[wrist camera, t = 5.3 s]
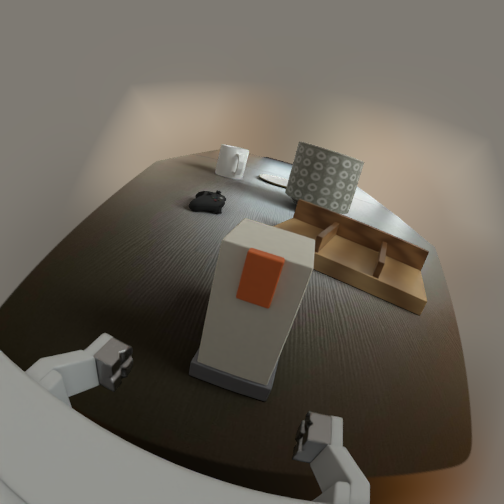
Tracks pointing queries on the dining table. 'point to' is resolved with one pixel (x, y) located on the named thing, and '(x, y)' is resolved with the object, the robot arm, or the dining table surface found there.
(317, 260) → the divided wooden tray
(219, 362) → the block with orange tab
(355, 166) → the planter
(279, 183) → the plate
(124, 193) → the dining table surface
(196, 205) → the game controller
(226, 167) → the mug
